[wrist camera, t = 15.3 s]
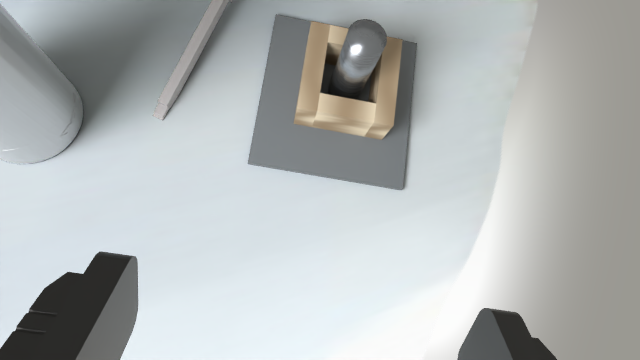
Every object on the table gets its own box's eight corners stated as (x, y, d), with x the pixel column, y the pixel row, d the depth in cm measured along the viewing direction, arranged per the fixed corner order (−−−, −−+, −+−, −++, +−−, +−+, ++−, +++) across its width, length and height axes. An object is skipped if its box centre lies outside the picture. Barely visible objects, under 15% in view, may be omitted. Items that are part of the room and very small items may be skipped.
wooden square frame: (293, 123, 44) (297, 107, 40) (306, 43, 46) (311, 20, 42) (381, 139, 44) (393, 125, 41) (390, 60, 47) (402, 39, 43)
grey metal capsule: (325, 103, 44) (344, 51, 35) (330, 74, 45) (349, 15, 36) (357, 109, 45) (384, 59, 35) (361, 80, 46) (388, 24, 36)
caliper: (253, -41, 48) (252, -89, 42) (262, -37, 48) (263, -84, 42) (153, 117, 43) (136, 88, 37) (164, 122, 43) (148, 94, 37)
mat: (248, 163, 42) (247, 162, 42) (275, 17, 47) (275, 14, 46) (401, 190, 44) (402, 189, 43) (415, 45, 48) (416, 43, 48)
